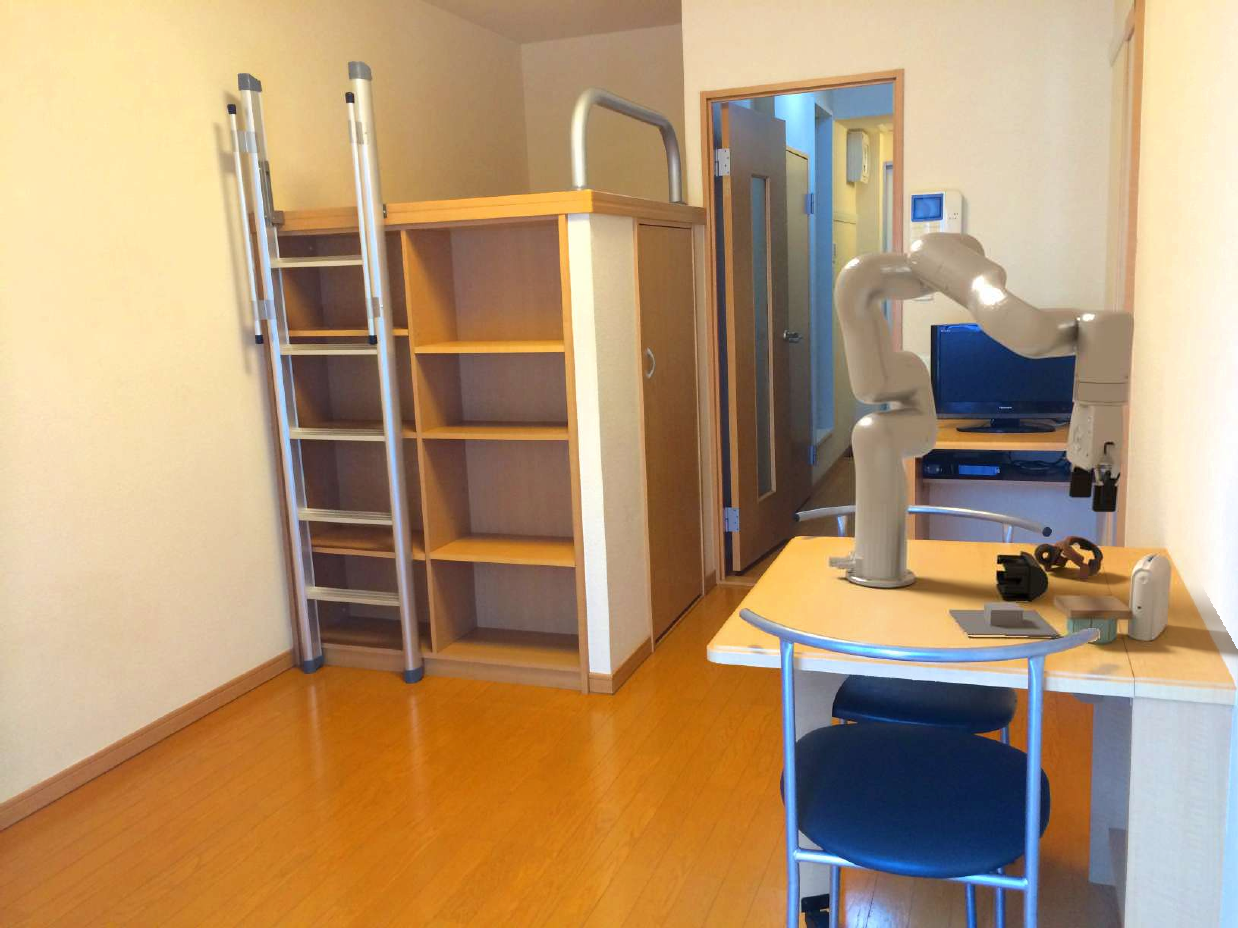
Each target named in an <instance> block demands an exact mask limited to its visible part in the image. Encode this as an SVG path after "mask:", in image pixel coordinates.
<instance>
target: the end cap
mask: <svg viewBox="0 0 1238 928" xmlns="http://www.w3.org/2000/svg"><path fill="white" fill-rule="evenodd" d="M996 565H1002V567H1003V569H1004V570H997V569H996V570H995V572H996V573H995V579H996V582H997V583H996V585H995V586H996V587H995V588H996V590H997V591H998V593H999V596H1001V599H1002V600H1003V601H1004V602H1011V601H1028V602H1027V603H1032V602H1034V601H1036V600H1037V599H1038V598H1040V597H1042V596H1043V595H1044V594H1045V593H1046V592H1047V590H1048V587H1049V583H1050V582H1049V578H1048V577H1049V576H1048V575H1047V573H1046V571H1044V568H1043V567H1042V565H1041V564H1039V563H1038V562H1037V560H1036V558H1035V556H1034V555H1032V554H1031V553H1029V552H1026V551H1024V550H1023V551H1022V550H1021V551H1020V554H997V556H996Z"/></svg>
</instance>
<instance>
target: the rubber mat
mask: <svg viewBox="0 0 1238 928" xmlns="http://www.w3.org/2000/svg"><path fill="white" fill-rule="evenodd" d="M948 611H949V612H948V613H950V614H951V615H950V614H949V615H950V616H951V618H952V617H953V618H954V619H955V620H956V621H955V620H954V619H953V618H952V619H953V620H954V621H955V623H956V622H957V623H958V624H959V625H958V624H957V623H956V624H957V625H958V627H959V626H960V627H961V628H962V629H963V630H964V632H966V633H967V635H1005V636H1028V637H1051V638H1050V639H1057V638H1056V637H1060V638H1061V634H1060V633H1059V632H1058V631H1057V630H1056V629H1055V627H1053V626H1052V625H1051V623H1049V622H1048V621H1047V620H1046V619H1045V618H1044V617H1043V615H1040V613H1039V612H1038V611H1036V610H1035V609H1034V610H1033V609H1032V610H1031V609H1029V610H1028V609H1023V608H1022V607H1021V606H1020V605H1019V604H1018V602H1011V601H1004V602H1002V601H1001V602H998V601H997V602H996V601H995V602H993V601H992V602H991V601H989V602H986V601H985V602H983V609H948ZM960 627H959V628H960ZM961 628H960V629H961ZM962 629H961V630H962ZM964 632H963V633H964Z"/></svg>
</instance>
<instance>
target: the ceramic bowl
mask: <svg viewBox="0 0 1238 928" xmlns="http://www.w3.org/2000/svg"><path fill="white" fill-rule="evenodd" d="M1118 622H1119V619H1070V618H1069V617H1068V616H1067V615H1066V631H1067V635H1069V634H1072V633H1075V632H1079V631H1081V630H1083V629H1088V628H1096V629H1099V631H1100V638H1098V639H1097V640H1096V641H1093V642H1091V643H1090V644H1093V645H1095V644H1096V645H1105V644H1111V643H1113V642H1115V640H1116V639H1115V638H1116V637H1117V634H1118V633H1117V632H1118Z"/></svg>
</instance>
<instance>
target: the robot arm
mask: <svg viewBox="0 0 1238 928" xmlns="http://www.w3.org/2000/svg"><path fill="white" fill-rule="evenodd" d="M1007 277H1008V276H1007V272H1006V270H1005V268H1004V267H1003V266H1002V265H999V264H998V263H997V262H995V261H993V260H991V259H990V258H987V257H986V254H985V249H984V246H983V245H982V244H981V242H980V241H979V239H977V238H976V237H974V236H973V235H971V234H969V233H963V232H947V231H944V232H943V231H942V232H941V231H937V232H936V231H935V232H934V231H933V232H929V233H926V234H922V236H919V237H918V238H917V239H915V240H914V242H913V243H911V245H910V246H909V248H908V251H907V252H869V253H864V254H860V255H858V256H856V257H853V258H852V259H851V260H849V261H848V262H847V263H846V264H845V265H844V266H843V267H842V269H841V271H840V272H839V273H838V276H837V278H836V282H835V285H834V293H833V296H834V304H835V310H836V314H837V316H838V321H839V325H840V328H841V332H842V337H843V344H844V351H845V357H846V363H847V368H848V369H847V370H848V377H849V382H850V387H851V390H852V393H853V395H854V397H855V399H857V401H859V402H860V403H862V404H866V405H880V404H882V405H883V404H888V405H889V408H890V409H887V410H886V409H885V410H879V411H874V412H871V413H869V414H866V415H864V416H862V418H860V419H859V420H858V421H857V423H855V425H854V427H853V430H852V433H851V446H852V447H851V448H852V454H853V459H854V469H855V519H854V522H855V523H854V529H855V530H854V550H853V551H850V555H849V554H848V555H845V557H843V556H842V557H840V556H829V557H828V566H829V568H836V569H837V570H845V578H846V579H847V581H850V582H852V583H853V584H857V585H861V586H864V587H865V586H866V587H872V588H884V589H885V588H888V589H889V588H901V587H906V586H909V585H911V584H913V583H914V582H915V579H916V578H915V577H916V575H915V573H914V572H913V571H912V570H911V569H908V567H907V563H908V534H909V531H908V530H909V508H910V507H909V506H910V505H909V502H910V501H909V500H910V498H909V497H910V496H909V495H910V489H909V488H910V486H909V485H910V484H909V479H908V476H907V472H906V469H905V468H904V463H903V461H905V460H911V459H915V458H920V457H923V456H925V455H928V453H930V452H931V451H932V450H933V449H934V448H935V446H936V444H937V441H938V437H939V436H938V435H939V425H938V423H939V422H938V417H937V412H936V411H937V410H936V406H935V398H934V393H933V387H932V380H931V376H930V372H929V370H928V367H927V365H926V363H925V361H923V359H922V358H921V357H920V356H919V355H917V354H916V353H914V352H912V351H909V350H903V349H902V350H900V349H899V350H895V347H894V343H893V340H892V339H893V338H892V333H891V332H892V331H891V327H890V323H889V321H888V319H887V318H886V315H885V314H884V313H883V310H882V309H881V308H880V306H879V303H880V302H881V301H909V300H914V299H919V298H922V297H926V296H929V295H931V294H932V295H933V294H935V293H938V292H939V293H941V294H942V295H944V296H946V297H947V298H949V299H950V300H952V301H954V302H955V303H956V304H958V305H959V306H961V307H963V308H964V309H966V310H967V311H968V312H970V315H971V317H972V319H973V320H974V322H975V323H976V325H977V326H978V327H979V329H980V330H981V331H983V332H984V333H985V334H986V335H987V336H989V337H990V338H991V339H993V340H995V342H998V343H999V344H1001V345H1002V346H1004V347H1005V348H1007V349H1009V350H1010V351H1012V352H1013V353H1015V354H1017V355H1019V356H1022V357H1025V358H1029V359H1034V360H1035V359H1036V360H1037V359H1045V358H1057V357H1058V358H1059V357H1068V356H1075V361H1074V362H1075V363H1074V375H1073V376H1074V379H1073V392H1072V402H1073V407H1072V411H1071V416H1070V421H1069V422H1070V423H1069V430H1068V439H1067V448H1066V458H1067V460H1068V461H1069V462H1070V463H1071V465H1070V478H1069V479H1070V480H1069V492H1068V495H1069V497H1070V498H1075V499H1076V498H1080V499H1081V498H1084V499H1085V498H1087V499H1088V498H1091V497H1092V505H1091V510H1092V511H1093V512H1095V513H1114V512H1115V511H1116V509H1117V508H1116V507H1117V496H1118V487H1119V484H1120V480H1119V479H1120V477H1121V469H1122V466H1123V459H1122V457H1123V447H1124V446H1123V444H1124V406H1125V405H1128V400H1129V389H1130V379H1131V365H1132V355H1133V345H1134V344H1133V342H1134V331H1135V319H1134V316H1133V314H1132V313H1130V312H1128V311H1123V310H1111V309H1110V310H1105V309H1104V310H1102V309H1100V310H1085V309H1081V308H1075V307H1045V308H1043V307H1042V308H1038V307H1036V306H1034V305H1031V304H1030V303H1028V302H1026V301H1025V300H1023V299H1021V298H1020V297H1019V296H1016V295H1015V294H1014V293H1013V292H1011V291H1009V290H1008V289H1007V288H1006V284H1007V281H1008V280H1007ZM1092 469H1093V471H1094V472H1091V471H1092ZM1094 476H1095V481H1096V484H1094V485H1093V479H1094V478H1093V477H1094ZM1092 490H1093V493H1092Z"/></svg>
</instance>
